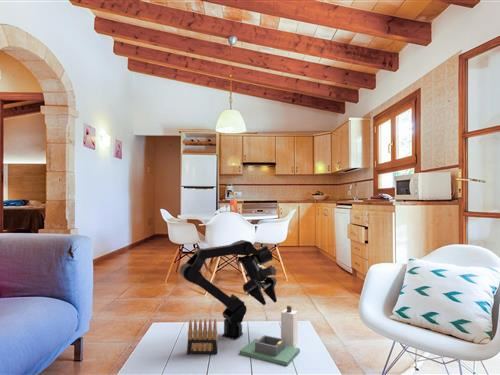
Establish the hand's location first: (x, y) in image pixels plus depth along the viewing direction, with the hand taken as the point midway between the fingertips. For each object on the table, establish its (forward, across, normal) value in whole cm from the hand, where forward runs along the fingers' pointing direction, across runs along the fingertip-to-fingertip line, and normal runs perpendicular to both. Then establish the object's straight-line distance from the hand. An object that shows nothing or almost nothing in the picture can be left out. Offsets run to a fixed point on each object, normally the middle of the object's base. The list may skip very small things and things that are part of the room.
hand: (270, 303), depth 130 cm
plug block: (+16, +3, +3) cm, 16 cm away
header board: (+15, -8, +5) cm, 18 cm away
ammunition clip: (+4, -21, +22) cm, 31 cm away
